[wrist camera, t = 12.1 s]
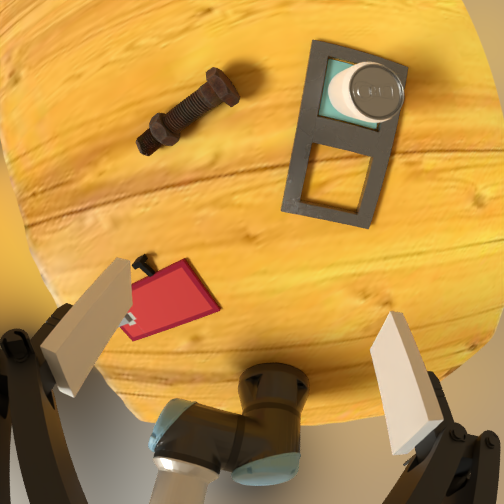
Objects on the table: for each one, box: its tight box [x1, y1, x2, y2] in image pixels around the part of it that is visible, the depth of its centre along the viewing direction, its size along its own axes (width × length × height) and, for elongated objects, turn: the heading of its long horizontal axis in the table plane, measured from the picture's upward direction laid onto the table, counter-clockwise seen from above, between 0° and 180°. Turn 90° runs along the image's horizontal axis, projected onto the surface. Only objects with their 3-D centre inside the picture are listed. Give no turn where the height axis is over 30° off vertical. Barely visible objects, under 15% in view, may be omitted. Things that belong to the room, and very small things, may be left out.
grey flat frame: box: [281, 40, 408, 229], centre depth 37 cm, size 24×13×1 cm, turn 172°
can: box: [328, 62, 404, 123], centre depth 29 cm, size 6×6×12 cm
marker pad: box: [318, 59, 377, 129], centre depth 34 cm, size 8×8×1 cm
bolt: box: [136, 67, 240, 156], centre depth 36 cm, size 6×5×15 cm
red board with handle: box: [118, 254, 220, 341], centre depth 54 cm, size 30×3×15 cm
